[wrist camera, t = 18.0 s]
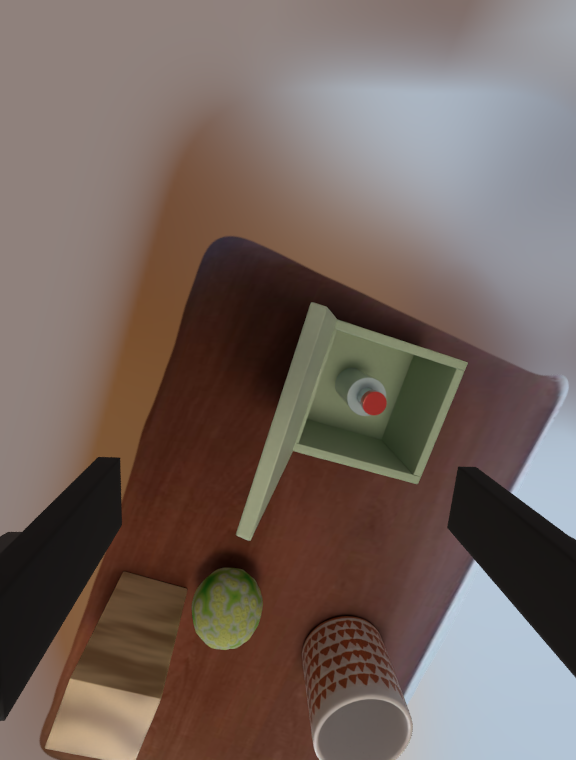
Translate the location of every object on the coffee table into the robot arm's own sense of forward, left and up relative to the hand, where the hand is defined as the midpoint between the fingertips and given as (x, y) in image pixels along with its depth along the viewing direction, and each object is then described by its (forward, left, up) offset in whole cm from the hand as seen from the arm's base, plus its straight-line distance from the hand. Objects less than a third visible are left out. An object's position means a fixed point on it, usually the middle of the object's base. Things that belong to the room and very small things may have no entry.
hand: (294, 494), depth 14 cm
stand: (+30, -31, -36) cm, 56 cm away
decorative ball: (+31, -18, -37) cm, 51 cm away
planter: (+51, -6, -37) cm, 63 cm away
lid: (+2, +2, -16) cm, 16 cm away
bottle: (+8, +10, -35) cm, 38 cm away
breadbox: (+8, +10, -36) cm, 38 cm away
